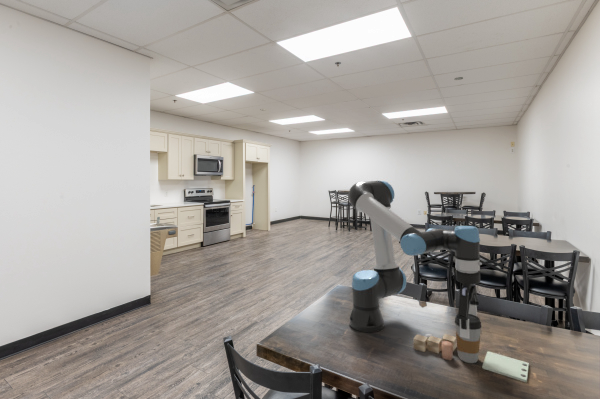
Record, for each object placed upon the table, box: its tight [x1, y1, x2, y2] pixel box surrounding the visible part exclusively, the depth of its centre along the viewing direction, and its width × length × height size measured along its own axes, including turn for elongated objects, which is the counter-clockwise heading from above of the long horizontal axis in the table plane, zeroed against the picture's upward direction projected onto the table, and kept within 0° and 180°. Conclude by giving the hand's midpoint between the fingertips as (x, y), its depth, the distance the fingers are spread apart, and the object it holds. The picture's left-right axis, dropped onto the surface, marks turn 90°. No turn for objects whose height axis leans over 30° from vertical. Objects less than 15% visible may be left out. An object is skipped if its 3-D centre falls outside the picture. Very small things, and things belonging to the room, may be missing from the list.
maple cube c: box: [441, 333, 457, 352], centre depth 114 cm, size 4×4×4 cm
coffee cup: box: [454, 313, 482, 364], centre depth 107 cm, size 8×8×15 cm
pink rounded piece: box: [441, 341, 454, 361], centre depth 108 cm, size 4×4×5 cm
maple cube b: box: [427, 336, 442, 354], centre depth 113 cm, size 4×4×4 cm
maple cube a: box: [413, 334, 428, 353], centre depth 115 cm, size 4×4×4 cm
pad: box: [481, 350, 530, 384], centre depth 102 cm, size 12×11×1 cm
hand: (468, 329), depth 106 cm, fingers open, 13 cm apart
